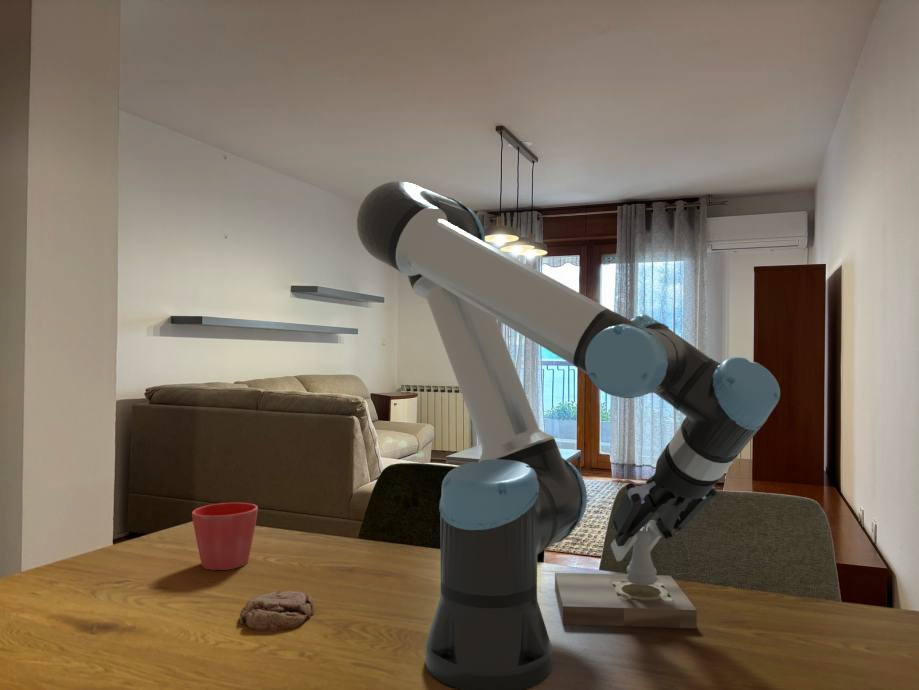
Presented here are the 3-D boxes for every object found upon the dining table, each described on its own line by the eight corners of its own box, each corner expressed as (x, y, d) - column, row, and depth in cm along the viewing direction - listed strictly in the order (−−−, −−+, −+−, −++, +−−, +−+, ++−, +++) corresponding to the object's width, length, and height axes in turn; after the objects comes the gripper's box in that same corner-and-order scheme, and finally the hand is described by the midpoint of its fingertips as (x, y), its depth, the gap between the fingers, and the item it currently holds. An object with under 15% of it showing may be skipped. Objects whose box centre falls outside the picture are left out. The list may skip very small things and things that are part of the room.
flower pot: (194, 557, 120) (194, 503, 120) (257, 552, 124) (257, 500, 124) (188, 576, 110) (189, 517, 110) (257, 570, 113) (258, 513, 114)
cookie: (328, 609, 97) (328, 588, 97) (285, 638, 87) (286, 615, 87) (271, 600, 100) (271, 580, 101) (224, 627, 91) (224, 605, 91)
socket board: (696, 628, 90) (696, 610, 90) (562, 624, 91) (563, 606, 91) (670, 591, 104) (670, 575, 104) (554, 588, 105) (554, 572, 105)
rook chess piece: (654, 576, 99) (654, 522, 100) (660, 586, 95) (660, 530, 95) (623, 575, 100) (623, 521, 100) (628, 585, 95) (628, 529, 96)
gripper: (734, 434, 90) (664, 526, 106) (627, 438, 86) (570, 533, 102) (762, 480, 85) (684, 569, 101) (650, 487, 81) (587, 579, 96)
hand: (627, 551), depth 101 cm, fingers closed on rook chess piece, 3 cm apart
